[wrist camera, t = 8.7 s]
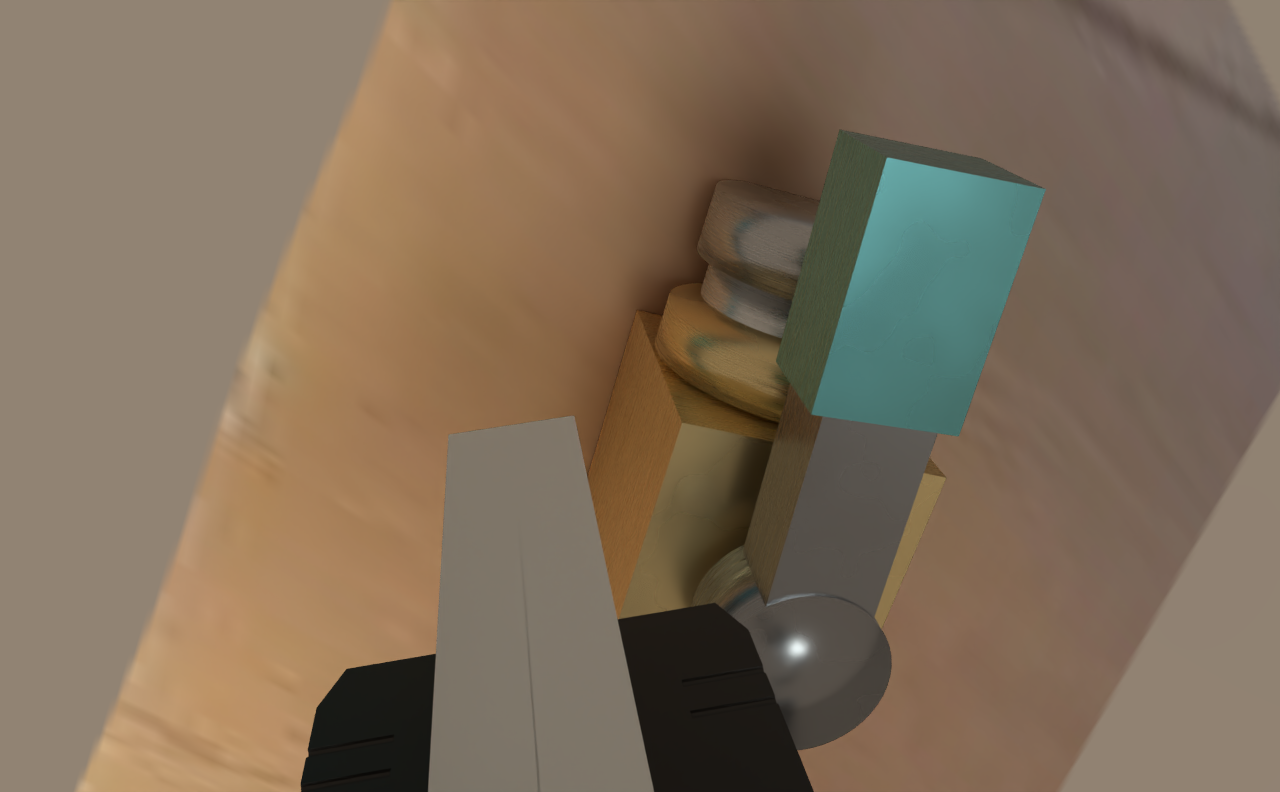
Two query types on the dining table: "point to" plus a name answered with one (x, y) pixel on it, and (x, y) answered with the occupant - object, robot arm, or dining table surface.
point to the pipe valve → (709, 410)
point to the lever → (867, 410)
